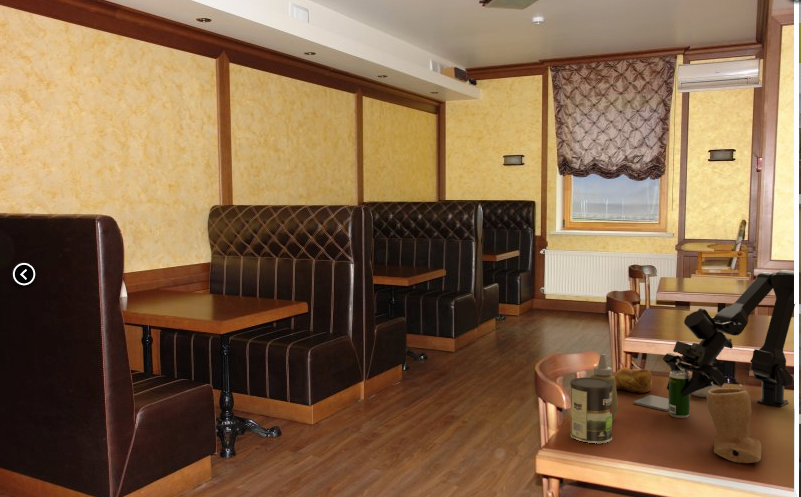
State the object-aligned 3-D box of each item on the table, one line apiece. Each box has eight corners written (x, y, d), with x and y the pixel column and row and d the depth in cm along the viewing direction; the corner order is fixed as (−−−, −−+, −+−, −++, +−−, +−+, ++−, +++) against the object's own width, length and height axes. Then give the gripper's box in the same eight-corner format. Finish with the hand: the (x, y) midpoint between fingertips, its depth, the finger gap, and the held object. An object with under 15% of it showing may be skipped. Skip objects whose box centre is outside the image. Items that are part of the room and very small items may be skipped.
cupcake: (681, 389, 207) (682, 358, 206) (713, 391, 205) (714, 359, 204) (688, 398, 198) (689, 365, 197) (722, 399, 196) (722, 366, 195)
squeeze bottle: (585, 422, 177) (585, 356, 176) (588, 413, 185) (589, 350, 184) (616, 425, 174) (617, 359, 173) (619, 416, 182) (619, 352, 181)
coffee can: (616, 434, 168) (617, 380, 167) (606, 447, 159) (606, 390, 159) (577, 427, 174) (577, 375, 173) (564, 439, 165) (564, 384, 164)
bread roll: (606, 390, 208) (607, 365, 207) (615, 383, 216) (615, 359, 215) (649, 396, 201) (649, 370, 200) (656, 388, 209) (656, 363, 208)
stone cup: (708, 438, 164) (709, 379, 163) (762, 447, 158) (764, 385, 157) (701, 459, 151) (702, 395, 150) (760, 469, 145) (761, 402, 144)
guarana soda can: (682, 419, 179) (682, 376, 178) (664, 414, 183) (664, 372, 182) (693, 415, 181) (694, 373, 181) (676, 411, 186) (676, 369, 185)
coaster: (649, 396, 200) (649, 394, 200) (682, 403, 193) (682, 401, 193) (633, 403, 193) (633, 401, 193) (666, 411, 186) (666, 409, 186)
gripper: (668, 325, 191) (636, 366, 188) (717, 337, 173) (682, 382, 170) (690, 349, 194) (658, 390, 191) (740, 364, 176) (706, 409, 173)
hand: (675, 392), depth 181 cm, fingers closed on guarana soda can, 5 cm apart
